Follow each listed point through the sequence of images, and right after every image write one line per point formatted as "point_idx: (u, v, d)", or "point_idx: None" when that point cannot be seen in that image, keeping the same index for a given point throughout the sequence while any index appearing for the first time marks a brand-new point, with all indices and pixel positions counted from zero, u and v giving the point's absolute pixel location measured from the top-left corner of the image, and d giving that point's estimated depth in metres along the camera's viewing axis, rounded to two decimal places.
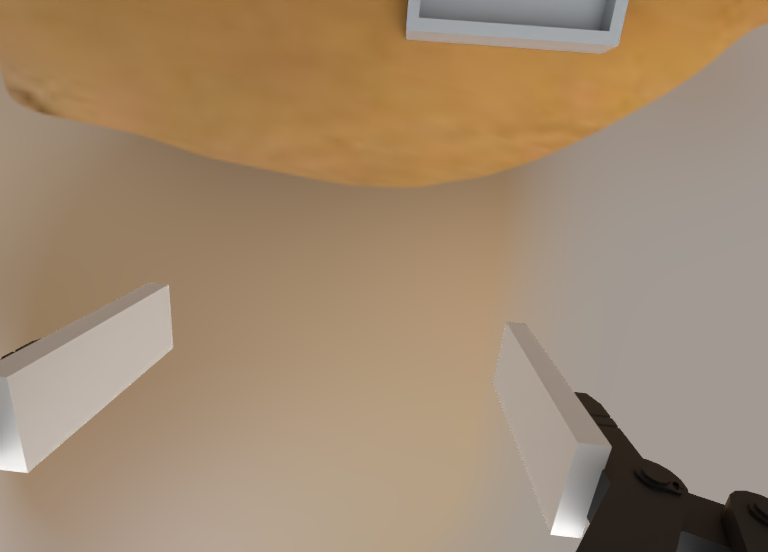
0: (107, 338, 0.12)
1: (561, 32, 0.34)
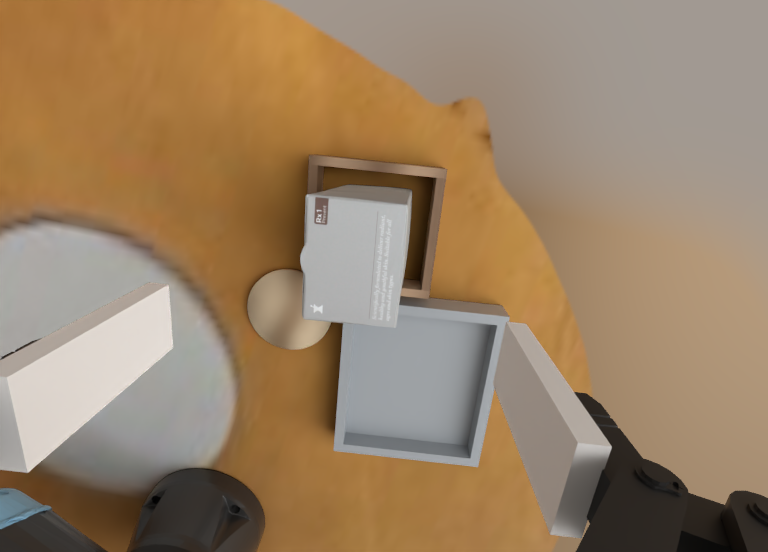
0: (107, 338, 0.12)
1: (493, 361, 0.40)
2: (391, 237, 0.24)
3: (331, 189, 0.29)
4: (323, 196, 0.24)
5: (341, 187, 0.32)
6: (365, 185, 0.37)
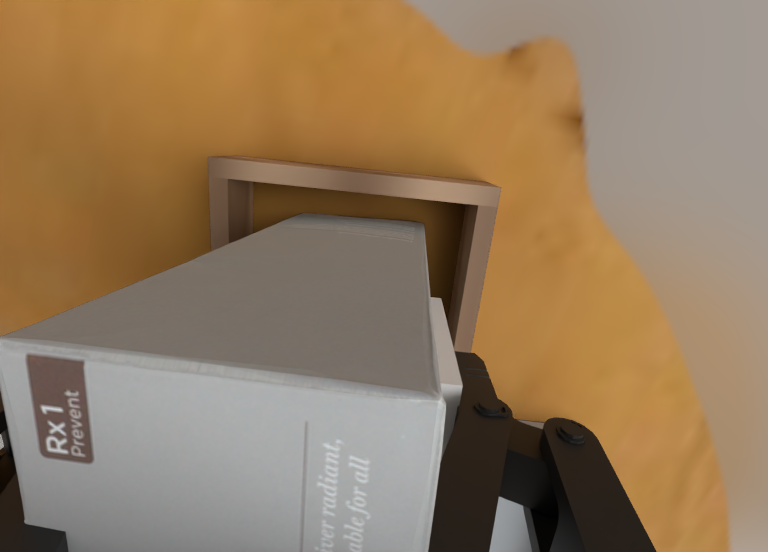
0: None
1: None
2: (370, 523, 0.06)
3: (219, 250, 0.11)
4: (65, 349, 0.05)
5: (266, 232, 0.14)
6: (332, 217, 0.18)
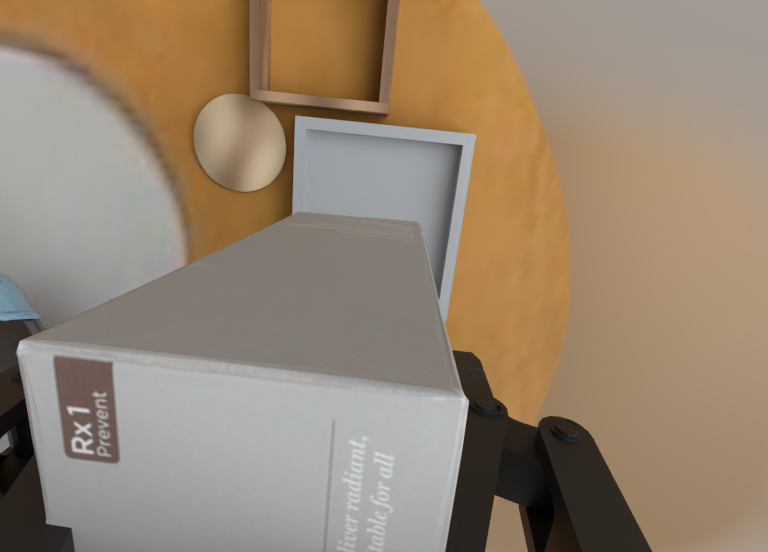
0: None
1: (459, 190, 0.36)
2: (393, 517, 0.06)
3: (224, 250, 0.11)
4: (92, 351, 0.05)
5: (267, 232, 0.14)
6: (329, 216, 0.19)
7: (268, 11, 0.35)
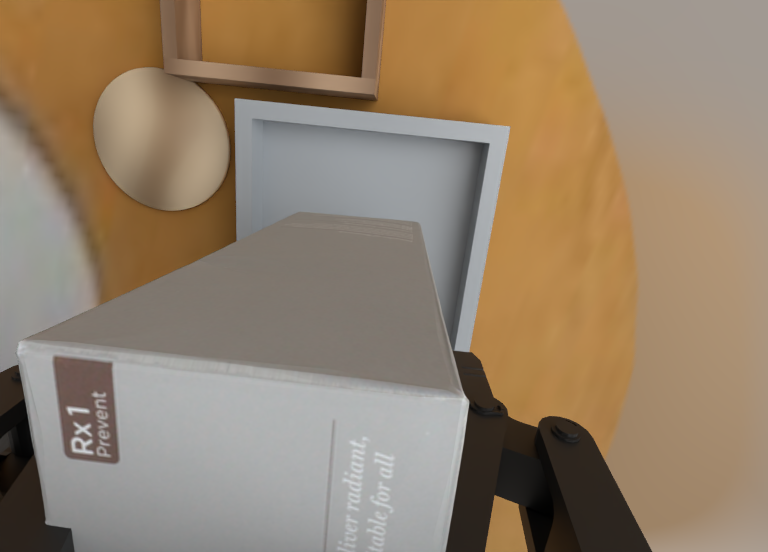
0: None
1: (483, 210, 0.24)
2: (393, 517, 0.06)
3: (224, 250, 0.11)
4: (92, 351, 0.05)
5: (267, 231, 0.14)
6: (329, 216, 0.19)
7: None
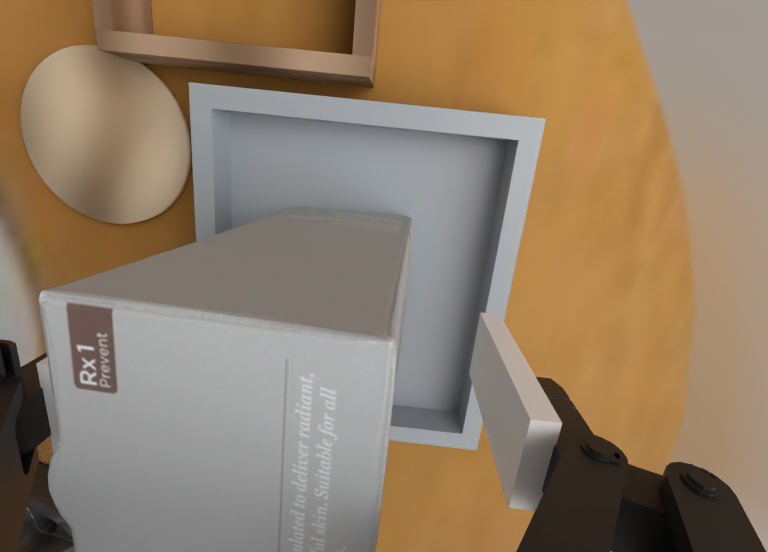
0: None
1: (509, 226, 0.19)
2: (337, 444, 0.07)
3: (220, 235, 0.12)
4: (97, 300, 0.07)
5: (263, 221, 0.15)
6: (326, 210, 0.20)
7: None
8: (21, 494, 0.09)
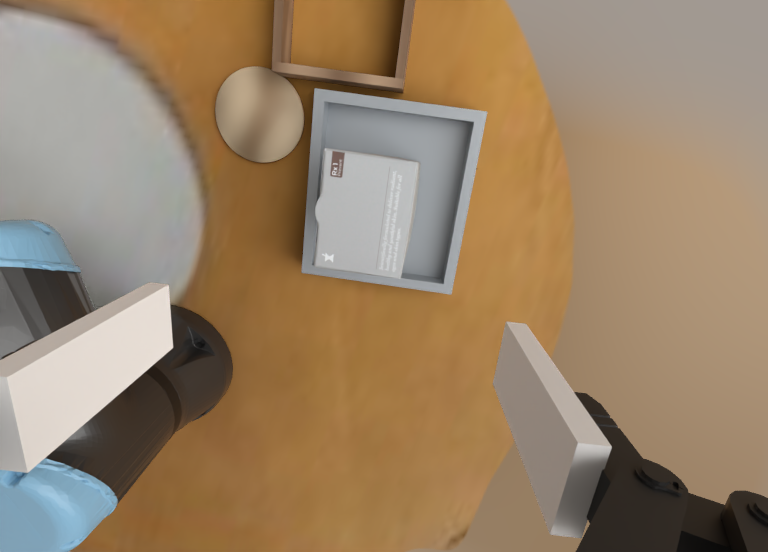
0: (107, 338, 0.12)
1: (469, 166, 0.38)
2: (401, 192, 0.26)
3: None
4: (340, 150, 0.26)
5: None
6: None
7: None
8: None
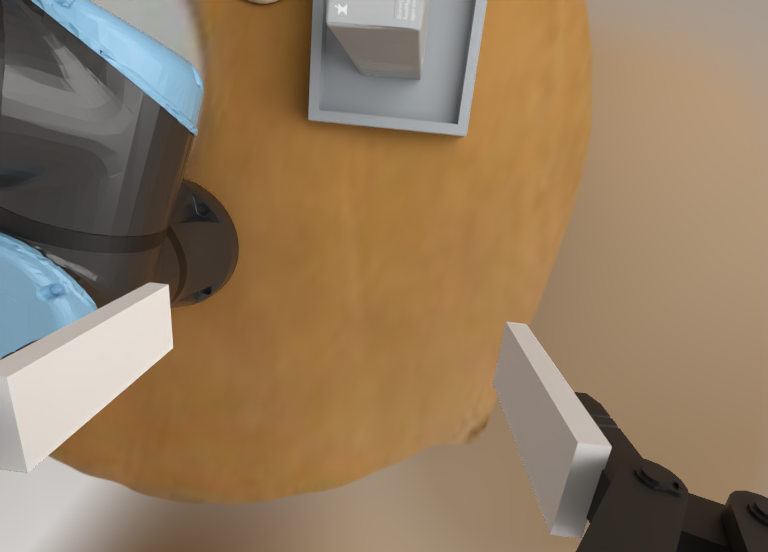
0: (107, 338, 0.12)
1: None
2: None
3: None
4: None
5: None
6: None
7: None
8: None
